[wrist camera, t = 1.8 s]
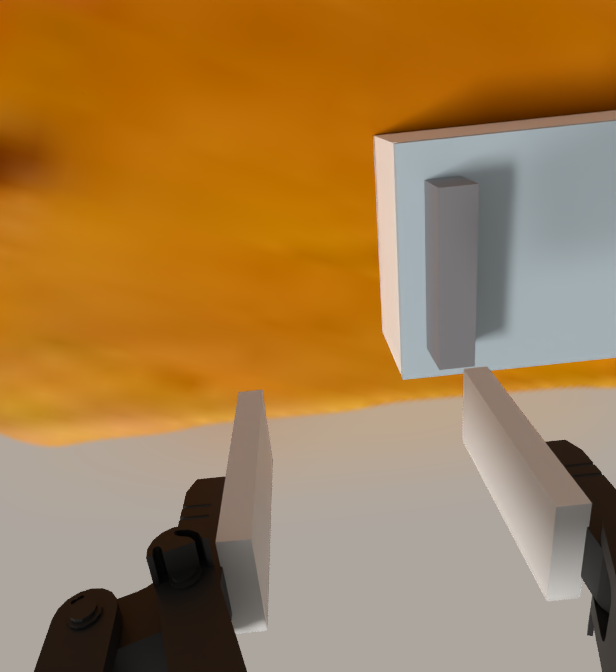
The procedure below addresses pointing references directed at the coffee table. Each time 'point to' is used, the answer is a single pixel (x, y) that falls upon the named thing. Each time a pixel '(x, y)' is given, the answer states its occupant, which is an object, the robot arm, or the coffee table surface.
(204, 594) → the robot arm
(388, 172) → the box
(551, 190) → the lid
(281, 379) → the coffee table surface
